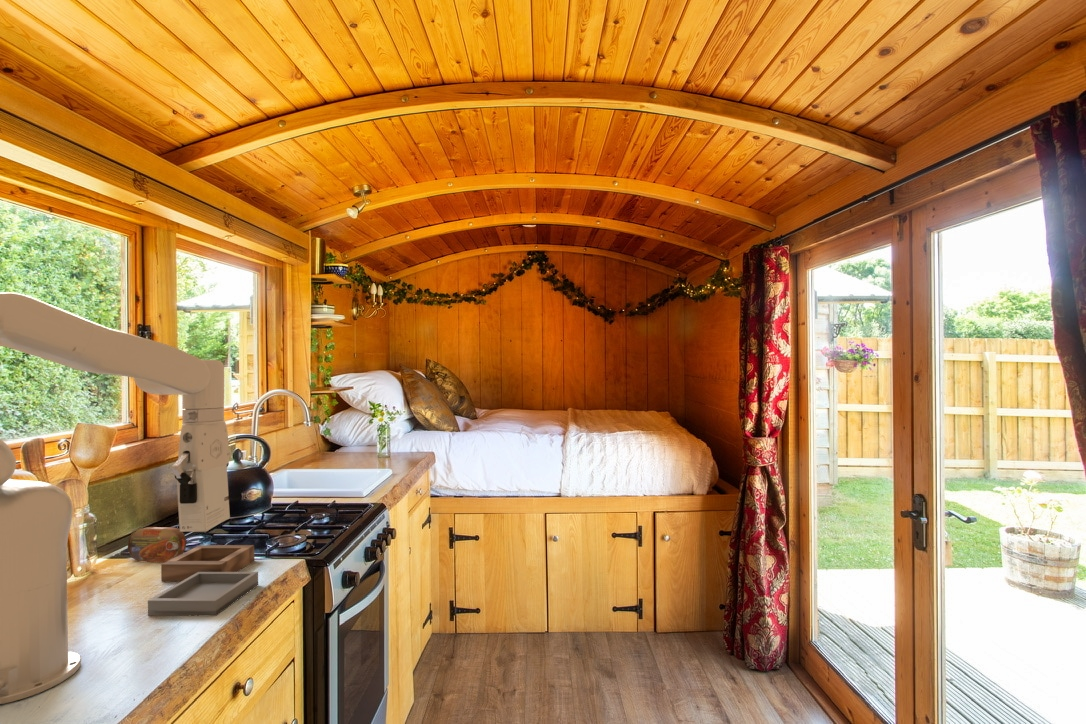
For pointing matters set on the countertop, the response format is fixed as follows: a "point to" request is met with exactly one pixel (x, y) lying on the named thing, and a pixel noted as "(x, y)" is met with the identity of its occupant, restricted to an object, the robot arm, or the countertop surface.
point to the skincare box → (205, 500)
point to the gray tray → (202, 594)
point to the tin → (156, 544)
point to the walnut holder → (207, 561)
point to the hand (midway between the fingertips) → (203, 497)
